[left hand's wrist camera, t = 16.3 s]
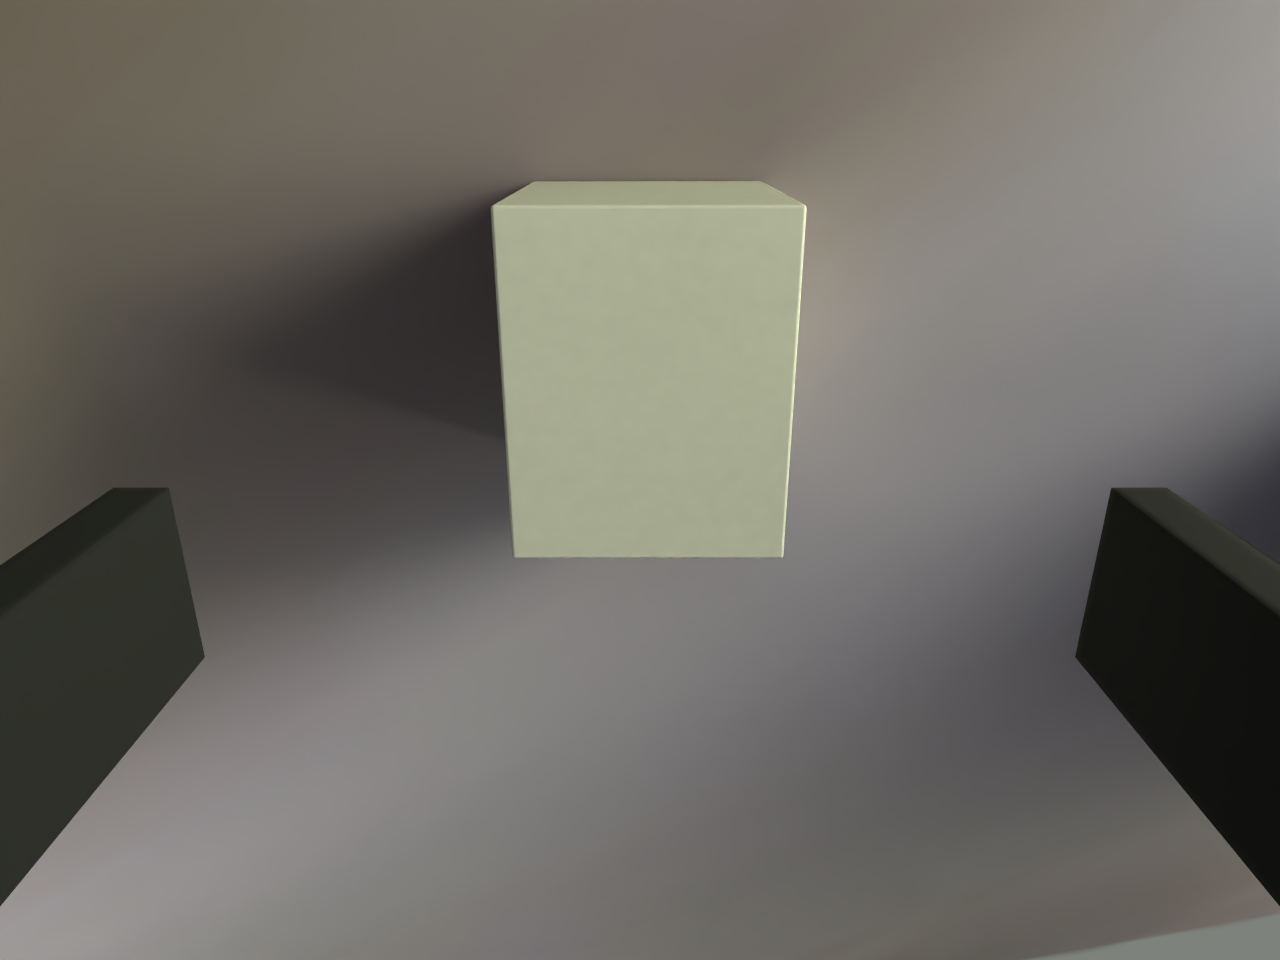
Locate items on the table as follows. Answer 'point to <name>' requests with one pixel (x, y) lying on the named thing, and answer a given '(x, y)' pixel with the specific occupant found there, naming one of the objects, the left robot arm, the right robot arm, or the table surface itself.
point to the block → (648, 366)
